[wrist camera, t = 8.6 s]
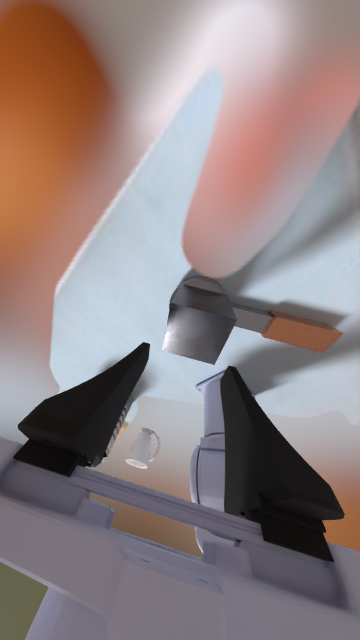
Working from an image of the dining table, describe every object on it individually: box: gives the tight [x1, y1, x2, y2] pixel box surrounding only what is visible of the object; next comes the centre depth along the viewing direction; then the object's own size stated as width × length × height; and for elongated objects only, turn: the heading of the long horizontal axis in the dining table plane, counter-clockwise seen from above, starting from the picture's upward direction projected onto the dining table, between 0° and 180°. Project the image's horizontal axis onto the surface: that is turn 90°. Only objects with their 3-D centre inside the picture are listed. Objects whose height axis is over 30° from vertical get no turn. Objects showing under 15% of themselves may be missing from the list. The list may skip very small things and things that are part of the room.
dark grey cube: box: [162, 284, 237, 365], centre depth 15 cm, size 6×6×6 cm
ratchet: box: [169, 276, 343, 352], centre depth 17 cm, size 21×8×4 cm, turn 79°
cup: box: [126, 428, 160, 468], centre depth 42 cm, size 7×10×8 cm
